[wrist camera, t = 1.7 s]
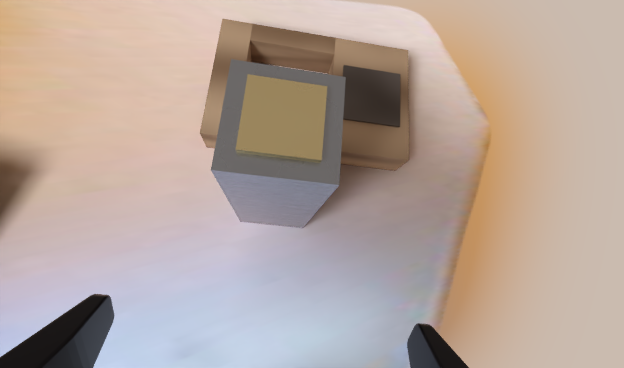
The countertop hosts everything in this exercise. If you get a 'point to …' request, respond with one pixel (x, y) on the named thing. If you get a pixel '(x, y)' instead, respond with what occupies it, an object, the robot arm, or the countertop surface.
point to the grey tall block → (279, 142)
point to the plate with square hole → (335, 61)
